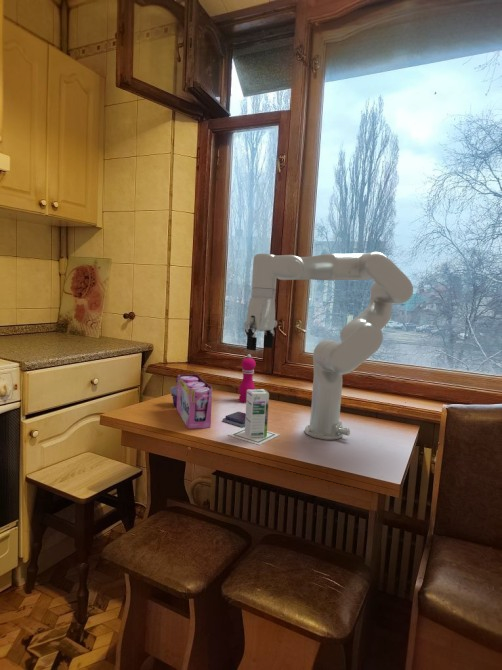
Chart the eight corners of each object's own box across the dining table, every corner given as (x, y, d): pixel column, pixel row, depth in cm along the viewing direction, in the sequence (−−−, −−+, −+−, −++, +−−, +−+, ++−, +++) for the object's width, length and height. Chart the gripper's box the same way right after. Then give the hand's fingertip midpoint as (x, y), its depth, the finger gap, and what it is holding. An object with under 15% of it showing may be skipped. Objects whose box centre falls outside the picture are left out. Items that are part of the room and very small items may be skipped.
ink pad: (257, 421, 146) (258, 416, 145) (243, 427, 138) (243, 421, 138) (237, 416, 151) (238, 410, 150) (222, 421, 143) (222, 415, 143)
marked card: (279, 435, 133) (279, 434, 133) (259, 445, 123) (259, 444, 123) (249, 426, 140) (249, 425, 140) (228, 435, 130) (228, 434, 130)
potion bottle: (175, 401, 165) (177, 372, 164) (195, 404, 162) (196, 374, 161) (165, 406, 157) (166, 376, 156) (185, 409, 154) (186, 378, 153)
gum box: (212, 429, 135) (214, 389, 133) (188, 431, 132) (190, 389, 130) (196, 408, 157) (197, 374, 156) (175, 409, 154) (177, 374, 153)
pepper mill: (254, 403, 169) (257, 356, 166) (237, 402, 169) (240, 355, 167) (255, 399, 176) (257, 353, 174) (238, 398, 176) (241, 352, 174)
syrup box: (249, 438, 128) (252, 393, 126) (244, 431, 133) (246, 388, 132) (266, 437, 130) (269, 392, 128) (260, 431, 135) (263, 388, 134)
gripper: (268, 294, 136) (264, 345, 138) (237, 292, 122) (233, 349, 123) (287, 295, 132) (284, 348, 133) (258, 294, 117) (254, 352, 119)
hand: (259, 348), depth 128 cm, fingers open, 9 cm apart
